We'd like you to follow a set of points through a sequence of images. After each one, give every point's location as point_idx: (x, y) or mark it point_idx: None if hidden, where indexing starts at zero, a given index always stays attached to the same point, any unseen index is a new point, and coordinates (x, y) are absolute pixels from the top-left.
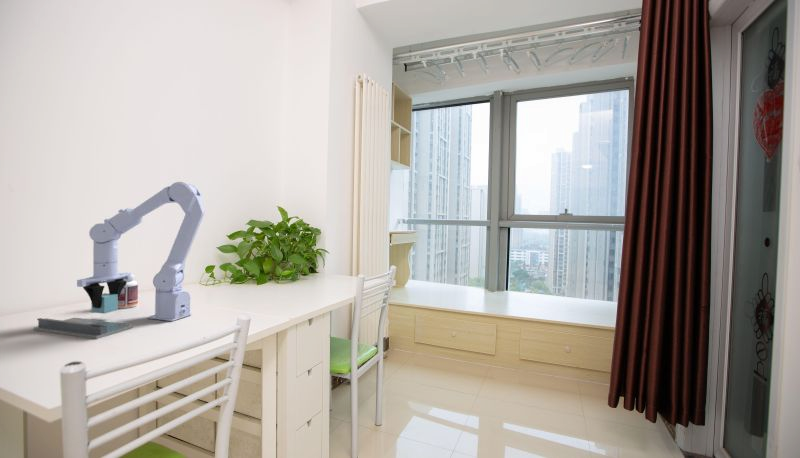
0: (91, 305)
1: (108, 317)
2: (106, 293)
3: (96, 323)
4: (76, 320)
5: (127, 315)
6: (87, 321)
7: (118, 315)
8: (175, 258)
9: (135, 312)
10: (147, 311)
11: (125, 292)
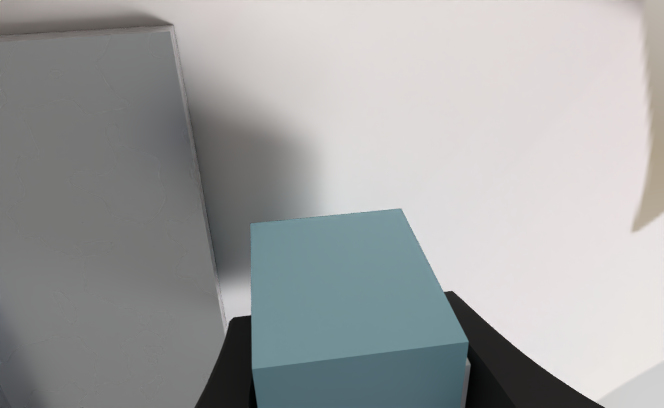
0: (251, 269)
1: (376, 206)
2: (463, 364)
3: (165, 377)
4: (119, 172)
5: (472, 272)
6: (158, 281)
7: (453, 215)
8: None
9: (567, 241)
10: (609, 286)
11: None
